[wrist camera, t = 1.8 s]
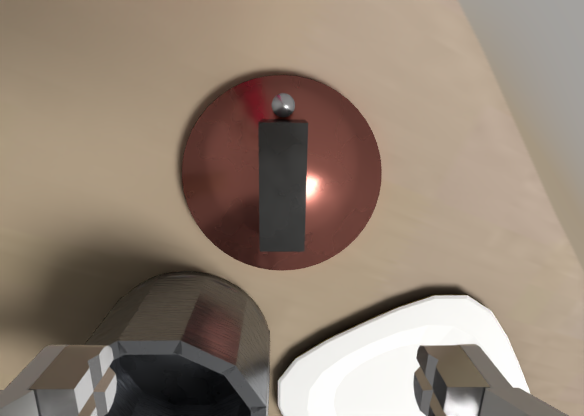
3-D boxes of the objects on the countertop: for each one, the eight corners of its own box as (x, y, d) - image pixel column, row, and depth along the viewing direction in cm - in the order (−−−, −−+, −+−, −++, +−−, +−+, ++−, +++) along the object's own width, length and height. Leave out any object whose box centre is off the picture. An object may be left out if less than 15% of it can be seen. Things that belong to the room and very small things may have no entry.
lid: (179, 73, 27) (161, 70, 23) (385, 77, 27) (404, 75, 23) (192, 263, 31) (179, 289, 27) (369, 264, 32) (382, 289, 28)
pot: (1, 271, 30) (-109, 341, 22) (269, 271, 31) (265, 339, 23) (34, 406, 35) (-47, 510, 26) (270, 403, 35) (267, 504, 27)
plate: (251, 363, 34) (250, 376, 33) (472, 261, 32) (482, 270, 30) (350, 506, 41) (353, 524, 39) (541, 431, 38) (553, 446, 36)
